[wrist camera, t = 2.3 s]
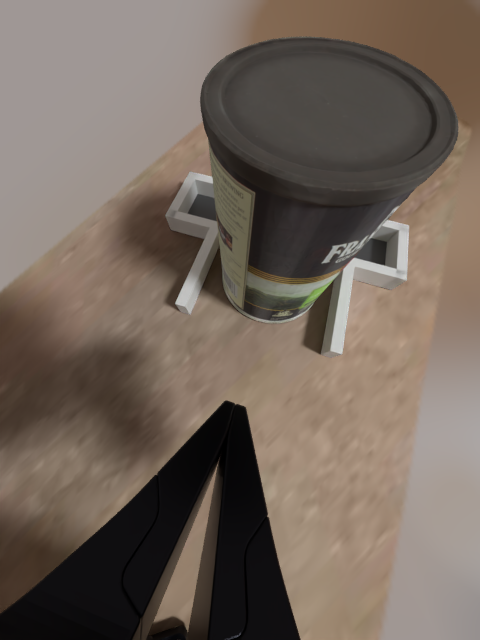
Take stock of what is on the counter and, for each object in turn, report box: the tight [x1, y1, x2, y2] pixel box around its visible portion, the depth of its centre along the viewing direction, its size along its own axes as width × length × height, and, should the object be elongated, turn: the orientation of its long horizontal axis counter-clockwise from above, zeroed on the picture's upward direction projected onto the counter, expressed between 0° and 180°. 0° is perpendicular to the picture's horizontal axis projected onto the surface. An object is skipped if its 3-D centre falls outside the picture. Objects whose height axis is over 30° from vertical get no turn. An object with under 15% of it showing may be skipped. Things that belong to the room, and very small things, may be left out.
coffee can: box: [200, 37, 458, 323], centre depth 15 cm, size 10×10×14 cm
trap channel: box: [165, 172, 409, 358], centre depth 21 cm, size 24×25×5 cm
